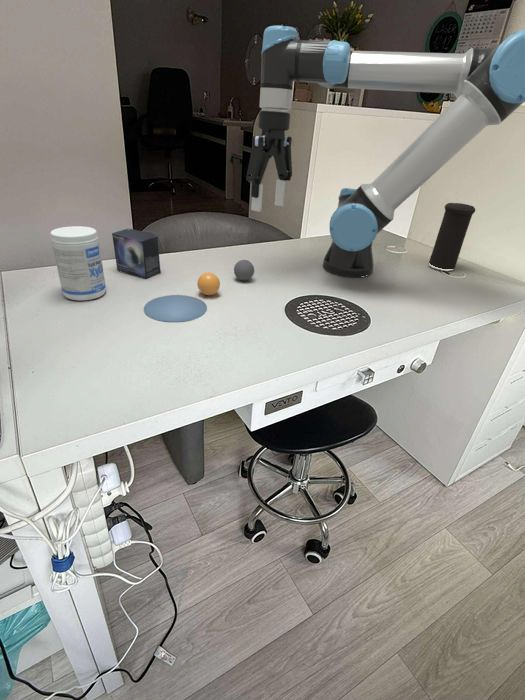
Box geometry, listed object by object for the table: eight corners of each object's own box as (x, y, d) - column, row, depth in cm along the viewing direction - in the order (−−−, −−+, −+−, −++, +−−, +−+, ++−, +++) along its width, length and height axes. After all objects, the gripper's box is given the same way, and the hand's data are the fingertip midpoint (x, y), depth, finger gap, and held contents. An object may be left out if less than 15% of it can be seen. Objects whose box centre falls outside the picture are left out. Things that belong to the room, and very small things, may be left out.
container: (457, 267, 129) (478, 204, 118) (452, 274, 122) (474, 208, 112) (430, 261, 132) (448, 199, 122) (424, 268, 126) (443, 203, 115)
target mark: (219, 307, 90) (219, 306, 90) (174, 328, 80) (174, 327, 80) (176, 291, 97) (176, 290, 97) (130, 308, 87) (130, 307, 87)
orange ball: (224, 294, 97) (224, 273, 94) (209, 300, 93) (209, 279, 90) (208, 288, 100) (207, 267, 97) (192, 294, 96) (192, 273, 93)
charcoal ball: (257, 279, 107) (258, 260, 104) (245, 285, 103) (246, 265, 100) (242, 274, 110) (242, 255, 107) (229, 279, 106) (229, 260, 103)
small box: (115, 271, 106) (109, 232, 100) (132, 265, 111) (128, 227, 105) (145, 280, 102) (141, 240, 97) (161, 273, 107) (158, 234, 102)
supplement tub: (104, 301, 89) (94, 237, 82) (59, 303, 87) (44, 237, 79) (108, 285, 97) (99, 225, 90) (67, 286, 95) (54, 225, 87)
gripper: (287, 112, 102) (279, 200, 114) (232, 107, 86) (230, 211, 98) (311, 113, 99) (301, 205, 110) (259, 108, 83) (254, 216, 94)
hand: (268, 208), depth 104 cm, fingers open, 10 cm apart
